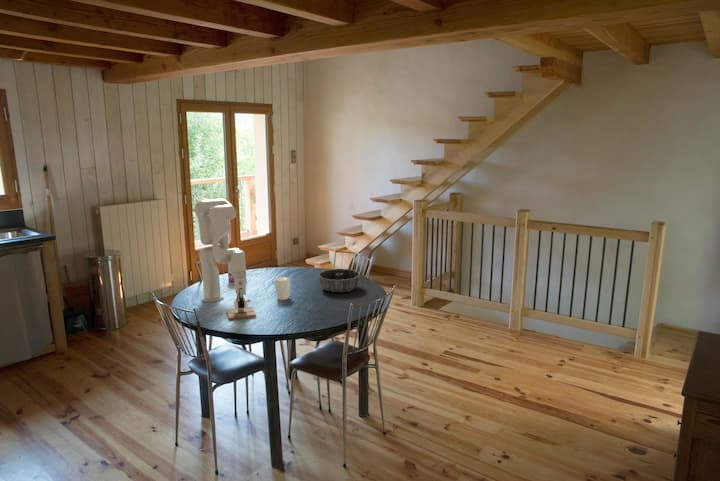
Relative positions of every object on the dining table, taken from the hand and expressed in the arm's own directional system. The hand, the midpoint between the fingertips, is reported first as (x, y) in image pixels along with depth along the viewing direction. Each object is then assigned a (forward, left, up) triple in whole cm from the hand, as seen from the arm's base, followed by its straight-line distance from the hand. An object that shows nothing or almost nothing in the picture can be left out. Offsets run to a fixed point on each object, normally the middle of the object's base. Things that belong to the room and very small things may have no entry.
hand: (240, 305), depth 269 cm
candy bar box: (-67, +5, -5) cm, 68 cm away
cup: (-21, +27, -5) cm, 35 cm away
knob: (0, 0, -1) cm, 1 cm away
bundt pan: (-27, +64, -6) cm, 70 cm away
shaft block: (0, 0, -5) cm, 5 cm away
